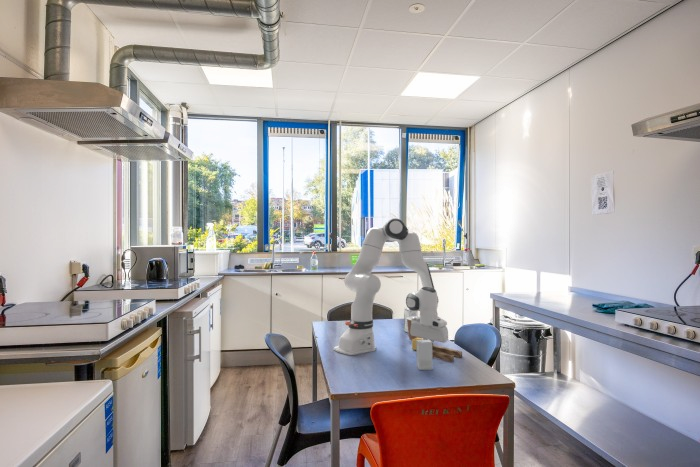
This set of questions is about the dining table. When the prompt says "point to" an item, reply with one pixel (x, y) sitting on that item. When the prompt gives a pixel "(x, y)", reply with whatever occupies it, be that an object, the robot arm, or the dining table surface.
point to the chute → (445, 353)
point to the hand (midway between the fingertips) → (428, 347)
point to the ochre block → (415, 343)
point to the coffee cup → (410, 326)
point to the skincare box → (424, 354)
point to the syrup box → (408, 314)
